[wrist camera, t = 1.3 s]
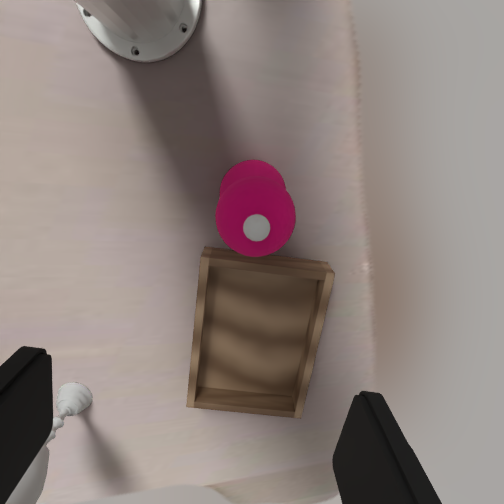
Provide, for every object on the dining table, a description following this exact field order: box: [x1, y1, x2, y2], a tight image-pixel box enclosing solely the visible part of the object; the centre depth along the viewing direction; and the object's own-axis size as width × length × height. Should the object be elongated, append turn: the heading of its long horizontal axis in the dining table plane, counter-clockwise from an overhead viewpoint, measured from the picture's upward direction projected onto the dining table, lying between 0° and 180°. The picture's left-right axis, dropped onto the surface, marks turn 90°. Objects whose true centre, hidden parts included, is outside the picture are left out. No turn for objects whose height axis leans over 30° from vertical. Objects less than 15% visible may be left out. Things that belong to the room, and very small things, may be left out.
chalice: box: [5, 382, 92, 504], centre depth 40 cm, size 7×7×18 cm
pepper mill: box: [215, 160, 296, 257], centre depth 30 cm, size 7×7×20 cm
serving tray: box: [186, 247, 335, 418], centre depth 44 cm, size 22×16×4 cm
